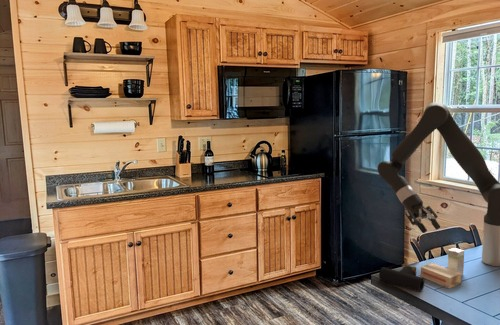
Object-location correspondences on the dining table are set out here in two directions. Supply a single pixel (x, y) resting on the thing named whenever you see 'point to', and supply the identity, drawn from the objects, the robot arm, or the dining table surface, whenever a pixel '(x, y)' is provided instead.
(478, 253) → the dining table surface
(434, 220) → the robot arm
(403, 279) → the pipe connector
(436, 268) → the block
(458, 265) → the jack column
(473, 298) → the dining table surface
